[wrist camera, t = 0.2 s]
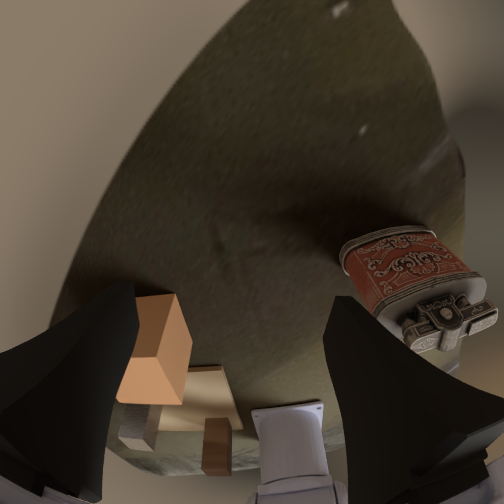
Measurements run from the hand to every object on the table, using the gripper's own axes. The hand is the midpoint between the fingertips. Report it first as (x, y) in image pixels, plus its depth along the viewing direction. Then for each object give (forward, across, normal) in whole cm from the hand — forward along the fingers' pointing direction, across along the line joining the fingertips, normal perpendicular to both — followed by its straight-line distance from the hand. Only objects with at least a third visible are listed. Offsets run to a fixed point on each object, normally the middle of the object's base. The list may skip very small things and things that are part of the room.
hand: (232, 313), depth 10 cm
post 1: (+10, +8, +20) cm, 23 cm away
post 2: (+10, +1, +25) cm, 27 cm away
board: (+10, +4, +22) cm, 24 cm away
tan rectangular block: (+10, +6, +10) cm, 15 cm away
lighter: (+10, -11, +2) cm, 15 cm away
